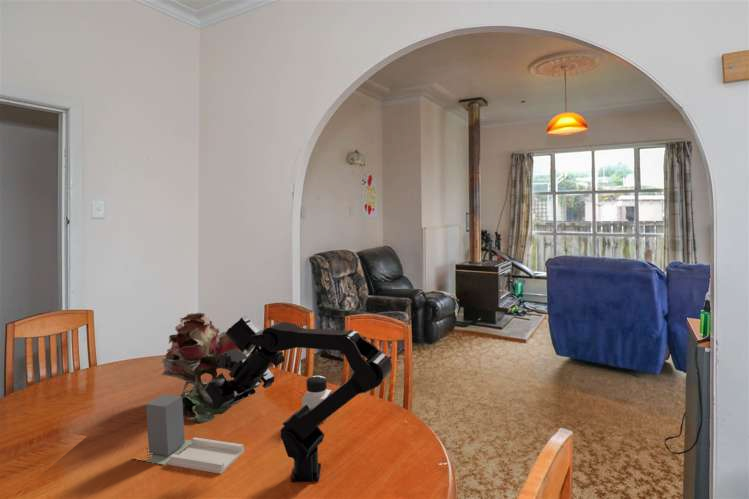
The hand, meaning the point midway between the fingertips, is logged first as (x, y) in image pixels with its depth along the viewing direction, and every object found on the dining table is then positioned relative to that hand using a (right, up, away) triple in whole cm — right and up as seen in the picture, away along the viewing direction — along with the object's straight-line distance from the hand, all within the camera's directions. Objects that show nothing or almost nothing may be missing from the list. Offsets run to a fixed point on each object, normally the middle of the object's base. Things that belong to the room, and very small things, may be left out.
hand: (225, 405), depth 107 cm
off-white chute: (-5, -14, +1) cm, 14 cm away
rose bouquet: (-20, -11, +35) cm, 41 cm away
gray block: (-17, -13, +4) cm, 22 cm away
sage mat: (-18, -13, +4) cm, 23 cm away
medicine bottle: (+20, -12, +22) cm, 32 cm away
